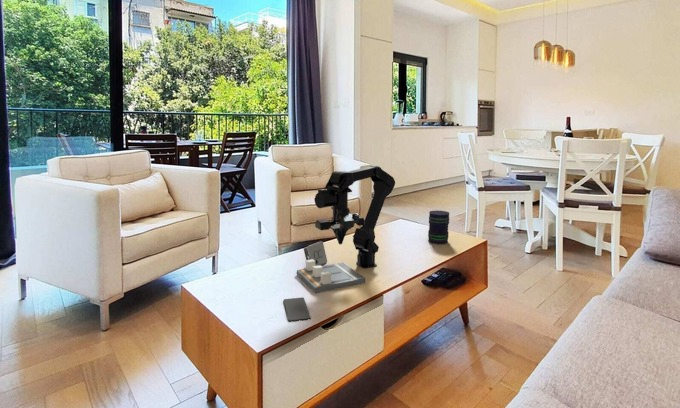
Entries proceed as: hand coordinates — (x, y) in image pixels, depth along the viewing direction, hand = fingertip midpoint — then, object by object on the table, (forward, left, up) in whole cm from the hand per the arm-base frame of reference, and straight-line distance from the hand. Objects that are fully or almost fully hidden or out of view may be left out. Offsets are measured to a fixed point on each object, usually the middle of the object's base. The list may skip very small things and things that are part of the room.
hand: (340, 244), depth 153 cm
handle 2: (+11, +11, -10) cm, 18 cm away
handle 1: (+11, -4, -10) cm, 15 cm away
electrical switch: (+5, -14, -12) cm, 19 cm away
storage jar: (-63, -18, -12) cm, 67 cm away
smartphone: (+26, +22, -13) cm, 36 cm away
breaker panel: (+6, +3, -12) cm, 14 cm away
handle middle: (+11, +3, -10) cm, 15 cm away
